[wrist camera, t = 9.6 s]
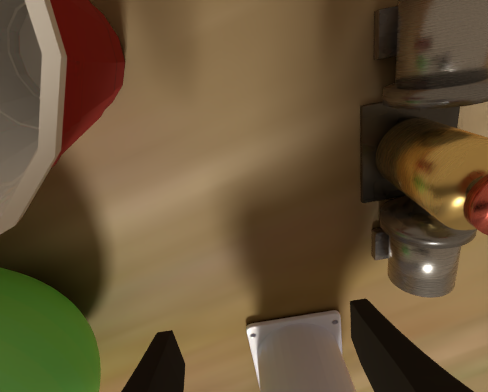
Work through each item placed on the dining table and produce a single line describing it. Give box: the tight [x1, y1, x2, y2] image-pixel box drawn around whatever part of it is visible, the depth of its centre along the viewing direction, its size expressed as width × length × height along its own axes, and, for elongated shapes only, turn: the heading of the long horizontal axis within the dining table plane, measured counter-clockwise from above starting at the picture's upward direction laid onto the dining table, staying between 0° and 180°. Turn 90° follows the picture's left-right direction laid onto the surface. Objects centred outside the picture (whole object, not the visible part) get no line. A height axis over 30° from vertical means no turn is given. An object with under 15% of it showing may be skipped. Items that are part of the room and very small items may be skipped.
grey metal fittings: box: [360, 0, 488, 297], centre depth 17 cm, size 17×6×5 cm, turn 10°
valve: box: [376, 118, 488, 235], centre depth 16 cm, size 4×4×8 cm
